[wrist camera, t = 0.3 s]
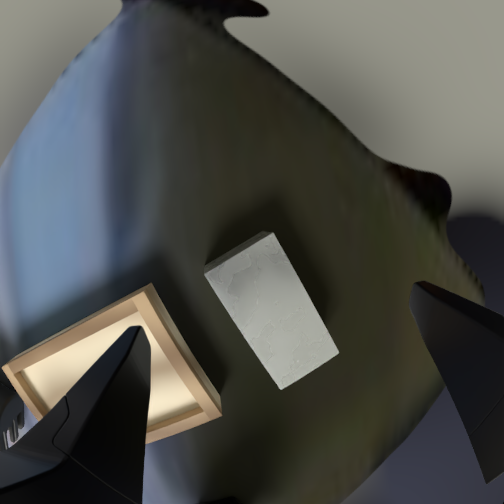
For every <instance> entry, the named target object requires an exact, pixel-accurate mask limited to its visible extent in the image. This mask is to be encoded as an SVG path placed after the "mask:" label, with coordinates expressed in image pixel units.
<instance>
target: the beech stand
mask: <svg viewBox="0 0 504 504" xmlns="http://www.w3.org/2000/svg"><path fill="white" fill-rule="evenodd" d="M136 325H141V326H142V327H143V328H144V330H145V333H146V335H147V338H148V340H149V342H150V345H151V392H150V402H149V411H148V421H147V432H146V444H147V443H151V442H154V441H157V440H160V439H163V438H165V437H168V436H171V435H174V434H177V433H180V432H182V431H185V430H188V429H190V428H193V427H195V426H198V425H201V424H203V423H206V422H208V421H211V420H213V419H215V418H218V417H220V416H222V409H221V400H220V395H219V394H218V392H217V391H216V389H215V388H214V386H213V385H212V383H211V382H210V380H209V379H208V377H207V376H206V374H205V373H204V371H203V369H202V368H201V366H200V365H199V363H198V362H197V360H196V358H195V357H194V355H193V354H192V352H191V350H190V349H189V347H188V346H187V344H186V342H185V341H184V339H183V337H182V336H181V334H180V332H179V331H178V329H177V327H176V326H175V324H174V322H173V320H172V319H171V317H170V315H169V314H168V312H167V310H166V308H165V306H164V305H163V303H162V301H161V299H160V298H159V296H158V294H157V292H156V290H155V288H154V287H153V285H152V283H150V284H148V285H146V286H144V287H142V288H140V289H138V290H136V291H135V292H133V293H131V294H129V295H127V296H125V297H123V298H121V299H119V300H117V301H116V302H114V303H112V304H110V305H108V306H106V307H104V308H102V309H101V310H99V311H97V312H95V313H93V314H91V315H89V316H87V317H86V318H84V319H82V320H80V321H78V322H76V323H74V324H73V325H71V326H69V327H67V328H65V329H63V330H62V331H60V332H58V333H56V334H54V335H52V336H51V337H49V338H47V339H45V340H43V341H41V342H40V343H38V344H36V345H34V346H32V347H31V348H29V349H27V350H25V351H23V352H22V353H20V354H18V355H16V356H15V357H14V358H13V359H11V360H10V361H9V362H8V363H6V364H5V365H4V366H3V367H2V369H3V371H4V372H5V374H6V375H7V377H8V379H9V380H10V382H11V383H12V385H13V386H14V388H15V389H16V391H17V392H18V394H19V395H20V397H21V398H22V400H23V401H24V402H25V404H26V405H27V407H28V408H29V409H30V411H31V412H32V413H33V415H34V416H35V417H36V419H37V420H38V421H40V420H41V419H42V418H43V417H44V416H45V415H46V414H47V413H48V412H49V411H50V410H51V409H52V408H53V407H54V406H55V405H56V404H57V403H58V402H59V400H60V399H61V398H62V397H63V396H64V395H66V393H67V392H68V391H69V390H70V388H71V387H72V386H73V385H74V384H75V383H76V382H77V381H78V380H79V379H80V378H81V377H82V375H83V374H84V373H85V372H86V371H87V370H88V369H89V368H90V367H91V366H92V365H93V364H94V363H95V362H96V361H97V359H98V358H99V357H100V356H101V355H102V354H103V353H104V352H105V351H106V350H107V349H108V348H109V347H110V346H111V345H112V344H113V343H114V342H115V341H116V340H117V338H118V337H119V336H120V335H121V334H122V333H123V332H124V331H125V330H126V329H127V328H128V327H130V326H136Z"/></svg>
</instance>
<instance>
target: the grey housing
mask: <svg viewBox="0 0 504 504" xmlns="http://www.w3.org/2000/svg"><path fill="white" fill-rule="evenodd" d="M204 275H205V276H206V278H207V280H208V281H209V283H210V284H211V286H212V288H213V289H214V291H215V292H216V294H217V296H218V297H219V299H220V300H221V302H222V303H223V305H224V307H225V308H226V310H227V311H228V313H229V314H230V316H231V317H232V319H233V320H234V322H235V323H236V325H237V327H238V328H239V330H240V331H241V333H242V334H243V336H244V337H245V339H246V340H247V342H248V343H249V345H250V346H251V348H252V349H253V351H254V352H255V354H256V355H257V356H258V358H259V359H260V361H261V362H262V364H263V365H264V367H265V368H266V370H267V371H268V372H269V374H270V375H271V377H272V378H273V380H274V381H275V383H276V384H277V385H278V387H279V388H280V390H282V389H283V388H285V387H287V386H288V385H290V384H292V383H293V382H295V381H297V380H298V379H300V378H302V377H303V376H305V375H306V374H308V373H310V372H311V371H313V370H314V369H316V368H317V367H319V366H321V365H322V364H324V363H325V362H327V361H328V360H330V359H331V358H333V357H334V356H336V355H337V354H338V353H339V351H338V349H337V348H336V346H335V344H334V342H333V340H332V338H331V336H330V334H329V333H328V331H327V329H326V327H325V325H324V323H323V321H322V320H321V318H320V316H319V314H318V312H317V310H316V308H315V307H314V305H313V303H312V301H311V299H310V298H309V296H308V294H307V292H306V290H305V288H304V287H303V285H302V283H301V281H300V279H299V278H298V276H297V274H296V272H295V270H294V269H293V267H292V265H291V263H290V261H289V260H288V258H287V256H286V254H285V252H284V251H283V249H282V247H281V245H280V244H279V242H278V240H277V238H276V237H275V235H274V233H272V232H265V231H262V232H260V233H258V234H257V235H255V236H253V237H252V238H250V239H248V240H247V241H245V242H243V243H242V244H240V245H238V246H237V247H235V248H233V249H232V250H230V251H228V252H227V253H225V254H223V255H222V256H220V257H218V258H217V259H215V260H213V261H212V262H210V263H208V264H207V265H205V266H204Z"/></svg>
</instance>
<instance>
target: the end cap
mask: <svg viewBox="0 0 504 504" xmlns="http://www.w3.org/2000/svg"><path fill="white" fill-rule="evenodd" d="M23 427H24V404H23V400H22V398H21V397H20V395H19V394H17V393H16V392H14V391H12V390H11V389H9V388H7V387H6V386H4V385H3V384H1V383H0V451H4V450H6V449H8V448H9V447H8V441H7V430H9V432H10V439H11V441H12V442H13V443H14V442H15V441H16V440H17V438H18V436H19V435H18V428H19V429H22V428H23Z"/></svg>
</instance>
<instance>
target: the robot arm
mask: <svg viewBox="0 0 504 504" xmlns="http://www.w3.org/2000/svg"><path fill="white" fill-rule="evenodd" d="M409 307H410V310H411V312H412V315H413V317H414V319H415V321H416V324H417V326H418V329H419V331H420V333H421V336H422V338H423V340H424V343H425V345H426V347H427V349H428V350H429V352H430V354H431V356H432V358H433V360H434V362H435V364H436V366H437V368H438V370H439V372H440V374H441V376H442V378H443V380H444V382H445V384H446V386H447V388H448V391H449V392H450V395H451V397H452V399H453V401H454V403H455V406H456V408H457V410H458V412H459V415H460V417H461V419H462V421H463V424H464V426H465V429H466V431H467V434H468V436H469V439H470V441H471V444H472V447H473V449H474V452H475V454H476V457H477V460H478V462H479V465H480V468H481V471H482V474H483V477H484V479H485V482H486V484H488V483H490V482H491V481H493V480H494V479H495V478H497V477H498V476H499V475H501V474H502V473H503V472H504V317H503V315H501V314H499V313H496V312H494V311H492V310H490V309H488V308H486V307H483V306H481V305H479V304H477V303H475V302H472V301H470V300H468V299H466V298H464V297H461V296H459V295H457V294H455V293H452V292H450V291H448V290H445V289H443V288H441V287H439V286H436V285H434V284H432V283H429V282H427V281H419V282H415V283H414V284H413V287H412V291H411V295H410V300H409ZM150 392H151V345H150V342H149V340H148V338H147V335H146V333H145V330H144V328H143V327H142V326H141V325H136V326H130V327H128V328H127V329H126V330H125V331H124V332H123V333H122V334H121V335H120V336H119V337H118V338H117V340H116V341H115V342H114V343H113V344H112V345H111V346H110V347H109V348H108V349H107V350H106V351H105V352H104V353H103V354H102V355H101V356H100V357H99V358H98V359H97V361H96V362H95V363H94V364H93V365H92V366H91V367H90V368H89V369H88V370H87V371H86V372H85V373H84V374H83V375H82V377H81V378H80V379H79V380H78V381H77V382H76V383H75V384H74V385H73V386H72V387H71V388H70V390H69V391H68V392H67V393H66V395H64V396H63V397H62V398H61V399H60V400H59V402H58V403H57V404H56V405H55V406H54V407H53V408H52V409H51V410H50V411H49V412H48V413H47V414H46V415H45V416H44V417H43V418H42V419H41V420H40V421H39V422H38V423H37V424H36V425H35V426H34V427H32V428H31V429H30V430H29V431H28V432H27V433H26V434H25V435H24V436H23V437H22V438H21V439H20V440H18V441H17V442H16V443H15V444H14V445H13V446H11V447H10V448H8V449H6V450H4V451H0V504H142V494H143V473H144V457H145V444H146V432H147V421H148V411H149V402H150ZM210 504H242V503H241V502H239V501H238V500H237V499H236V498H235V497H230V498H227V499H223V500H220V501H217V502H213V503H210ZM503 504H504V502H503Z"/></svg>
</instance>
